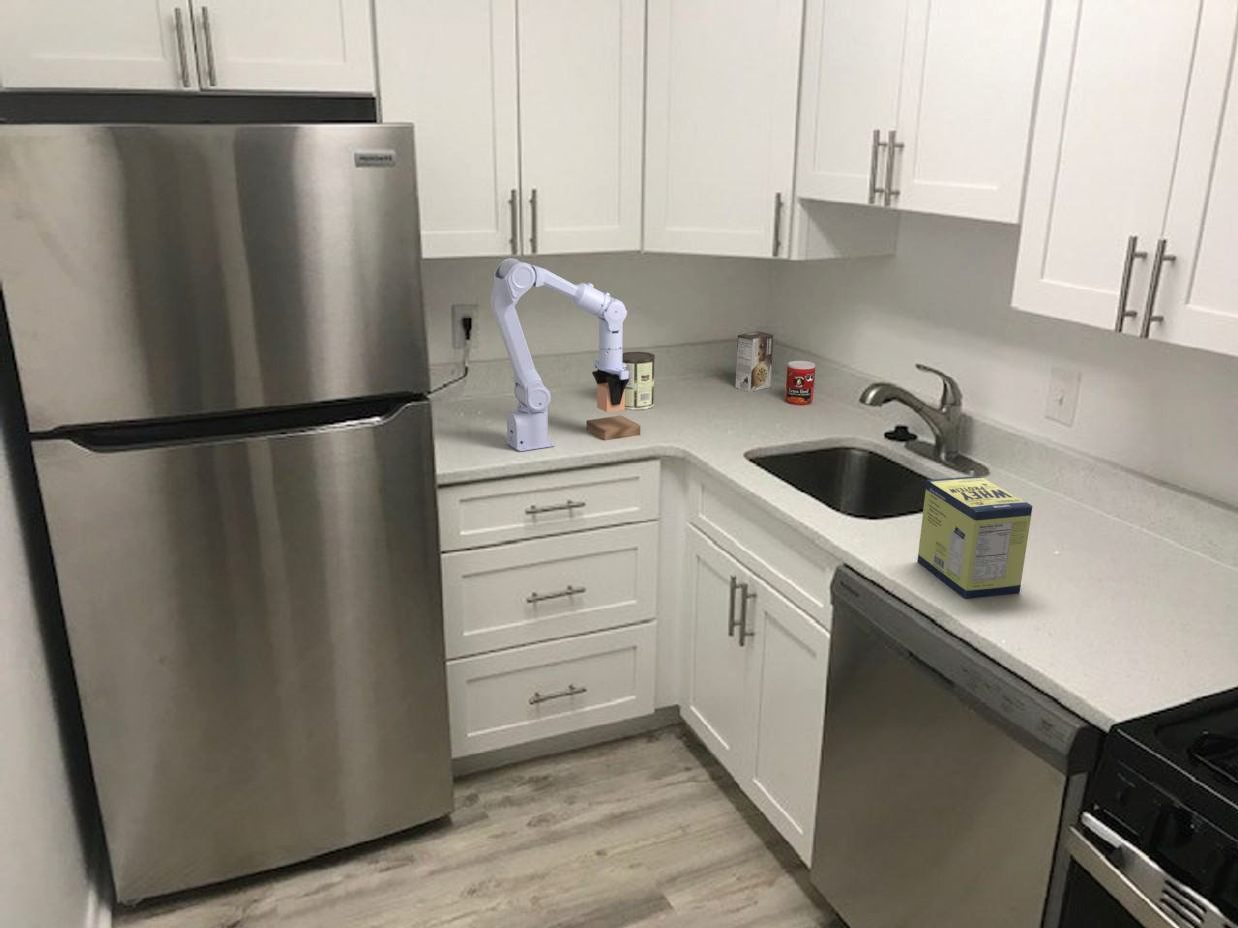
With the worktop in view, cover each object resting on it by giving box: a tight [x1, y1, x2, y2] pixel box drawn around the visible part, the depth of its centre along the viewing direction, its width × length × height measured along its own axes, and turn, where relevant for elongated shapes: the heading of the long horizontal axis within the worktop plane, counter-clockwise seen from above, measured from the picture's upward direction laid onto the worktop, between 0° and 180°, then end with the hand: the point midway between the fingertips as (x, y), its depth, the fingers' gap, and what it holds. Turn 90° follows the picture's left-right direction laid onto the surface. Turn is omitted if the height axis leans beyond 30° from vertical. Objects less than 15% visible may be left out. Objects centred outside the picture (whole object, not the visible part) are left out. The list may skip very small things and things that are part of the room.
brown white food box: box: [735, 330, 774, 393], centre depth 286 cm, size 9×6×16 cm
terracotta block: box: [596, 383, 626, 413], centre depth 238 cm, size 5×5×6 cm
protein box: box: [916, 475, 1033, 599], centre depth 163 cm, size 10×16×16 cm
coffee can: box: [622, 351, 656, 411], centre depth 266 cm, size 10×10×14 cm
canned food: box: [784, 360, 816, 406], centre depth 272 cm, size 8×8×11 cm
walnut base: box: [585, 415, 641, 441], centre depth 243 cm, size 10×10×3 cm
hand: (610, 401), depth 238 cm, fingers closed on terracotta block, 5 cm apart
